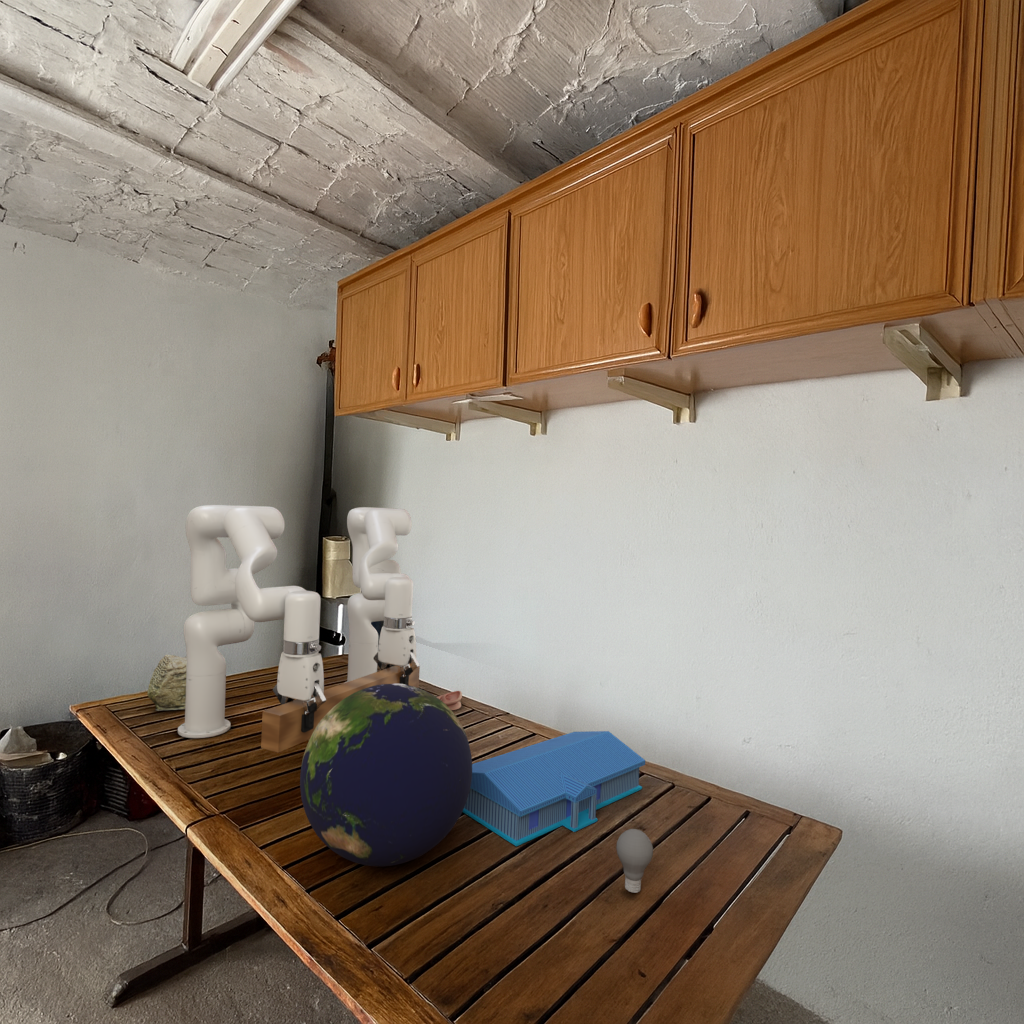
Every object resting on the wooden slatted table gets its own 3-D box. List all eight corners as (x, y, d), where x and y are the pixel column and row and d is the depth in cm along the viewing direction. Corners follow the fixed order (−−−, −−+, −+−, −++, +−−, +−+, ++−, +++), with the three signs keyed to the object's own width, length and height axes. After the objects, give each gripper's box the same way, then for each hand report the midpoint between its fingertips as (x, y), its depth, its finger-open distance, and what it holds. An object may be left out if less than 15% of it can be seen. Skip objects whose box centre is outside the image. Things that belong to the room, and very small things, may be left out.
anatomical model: (412, 696, 190) (425, 685, 201) (412, 709, 190) (424, 698, 201) (455, 701, 187) (465, 690, 199) (454, 714, 188) (465, 702, 199)
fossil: (144, 707, 182) (145, 655, 182) (212, 696, 194) (213, 647, 194) (151, 716, 175) (153, 662, 175) (221, 703, 188) (223, 653, 188)
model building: (528, 854, 115) (530, 799, 115) (447, 802, 133) (449, 755, 133) (654, 793, 142) (656, 749, 141) (573, 757, 160) (574, 718, 159)
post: (278, 752, 133) (279, 715, 133) (260, 747, 136) (262, 711, 135) (418, 692, 180) (419, 664, 180) (404, 689, 182) (405, 661, 182)
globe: (257, 876, 105) (264, 696, 104) (364, 800, 133) (370, 657, 132) (413, 929, 94) (422, 728, 93) (494, 834, 121) (501, 678, 121)
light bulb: (610, 879, 108) (613, 822, 108) (644, 879, 109) (647, 822, 109) (619, 902, 102) (622, 840, 102) (655, 901, 103) (658, 840, 103)
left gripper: (342, 649, 141) (338, 730, 141) (285, 638, 148) (282, 715, 149) (318, 656, 134) (314, 741, 134) (260, 644, 141) (256, 725, 142)
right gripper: (431, 624, 173) (428, 690, 173) (381, 616, 180) (378, 680, 181) (415, 629, 166) (412, 697, 167) (364, 620, 174) (361, 686, 174)
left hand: (297, 726), depth 141 cm, fingers closed on post, 5 cm apart
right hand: (395, 687), depth 174 cm, fingers closed on post, 5 cm apart
